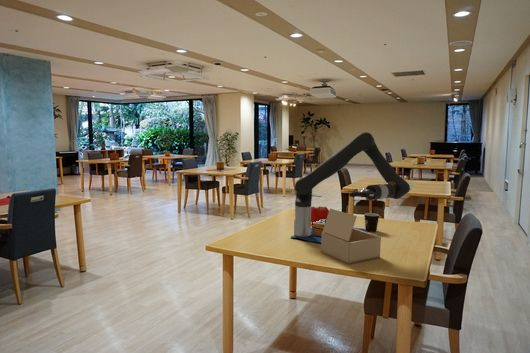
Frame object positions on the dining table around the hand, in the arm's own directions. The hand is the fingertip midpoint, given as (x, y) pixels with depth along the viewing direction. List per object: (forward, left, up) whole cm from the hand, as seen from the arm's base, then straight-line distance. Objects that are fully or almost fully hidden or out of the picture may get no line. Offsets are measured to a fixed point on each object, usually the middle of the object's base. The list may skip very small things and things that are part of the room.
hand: (350, 194), depth 188 cm
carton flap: (-7, -6, -19) cm, 21 cm away
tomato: (-17, +60, -30) cm, 69 cm away
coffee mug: (+15, +52, -30) cm, 62 cm away
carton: (+1, +1, -30) cm, 30 cm away
